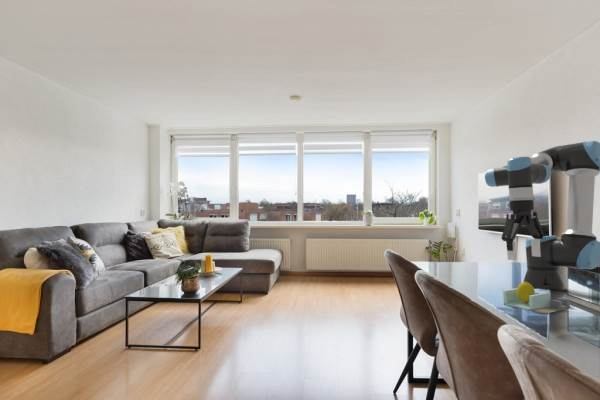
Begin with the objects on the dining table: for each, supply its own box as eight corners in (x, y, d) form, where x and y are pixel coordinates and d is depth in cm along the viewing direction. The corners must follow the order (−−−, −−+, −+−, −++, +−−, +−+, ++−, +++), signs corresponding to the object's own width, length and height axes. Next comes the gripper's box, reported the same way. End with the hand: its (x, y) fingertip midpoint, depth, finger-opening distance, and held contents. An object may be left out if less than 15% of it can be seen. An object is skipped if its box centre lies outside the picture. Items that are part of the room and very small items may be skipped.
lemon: (521, 305, 126) (520, 282, 126) (515, 301, 132) (513, 279, 132) (538, 305, 125) (537, 282, 125) (531, 301, 130) (530, 279, 131)
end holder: (521, 300, 135) (520, 287, 135) (550, 306, 125) (549, 292, 125) (503, 304, 131) (503, 290, 131) (532, 311, 121) (531, 296, 121)
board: (535, 301, 137) (535, 298, 137) (574, 310, 125) (574, 306, 125) (506, 307, 130) (505, 304, 130) (544, 317, 118) (544, 313, 118)
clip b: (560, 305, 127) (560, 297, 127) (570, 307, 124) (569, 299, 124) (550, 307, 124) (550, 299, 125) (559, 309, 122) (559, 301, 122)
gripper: (532, 199, 138) (535, 254, 137) (488, 200, 127) (491, 260, 127) (553, 198, 131) (556, 256, 130) (508, 200, 121) (511, 262, 120)
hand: (524, 258), depth 129 cm, fingers open, 13 cm apart
